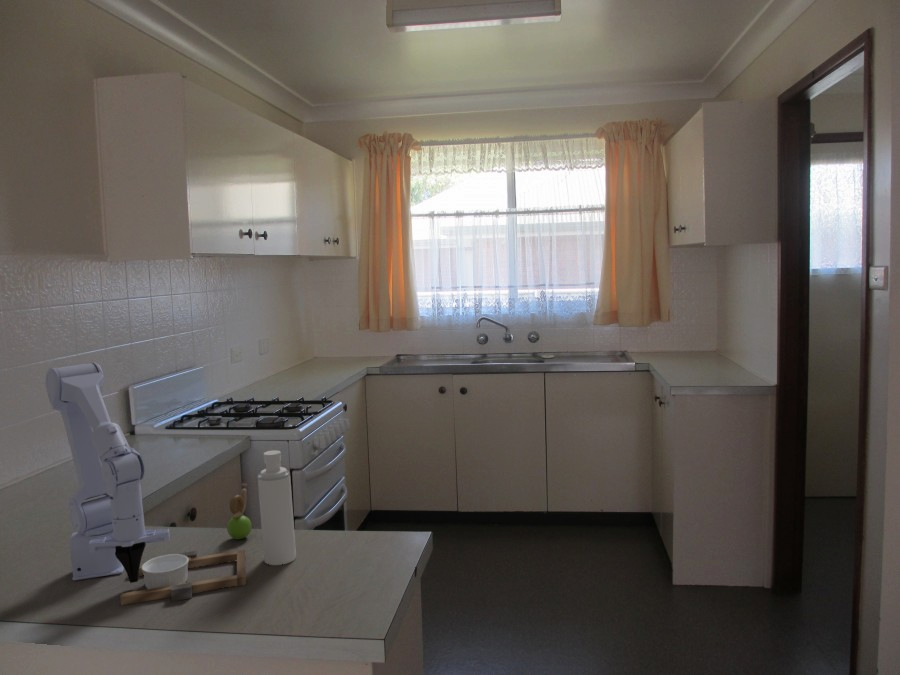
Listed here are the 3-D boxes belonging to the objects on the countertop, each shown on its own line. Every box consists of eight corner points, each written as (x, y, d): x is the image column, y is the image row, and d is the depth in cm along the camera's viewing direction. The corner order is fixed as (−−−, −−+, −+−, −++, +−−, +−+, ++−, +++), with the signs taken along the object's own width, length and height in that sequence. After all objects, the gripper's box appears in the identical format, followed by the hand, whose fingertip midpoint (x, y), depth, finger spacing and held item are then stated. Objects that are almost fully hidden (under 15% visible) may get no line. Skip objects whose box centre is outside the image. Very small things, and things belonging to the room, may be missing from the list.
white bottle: (302, 555, 155) (294, 442, 152) (280, 567, 149) (271, 450, 147) (279, 550, 159) (271, 439, 156) (257, 562, 153) (248, 447, 150)
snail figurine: (259, 532, 169) (255, 483, 168) (244, 543, 163) (240, 492, 162) (238, 531, 171) (234, 482, 170) (223, 542, 165) (219, 491, 163)
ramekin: (175, 569, 151) (173, 550, 151) (199, 580, 146) (197, 560, 145) (134, 586, 144) (132, 565, 144) (157, 597, 139) (155, 576, 138)
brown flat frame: (119, 610, 134) (118, 598, 134) (133, 570, 152) (132, 560, 151) (245, 589, 140) (244, 578, 140) (245, 553, 158) (244, 543, 158)
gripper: (82, 527, 136) (90, 595, 137) (164, 515, 140) (171, 582, 141) (90, 514, 143) (97, 580, 144) (168, 504, 147) (174, 568, 148)
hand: (134, 580), depth 143 cm, fingers closed
